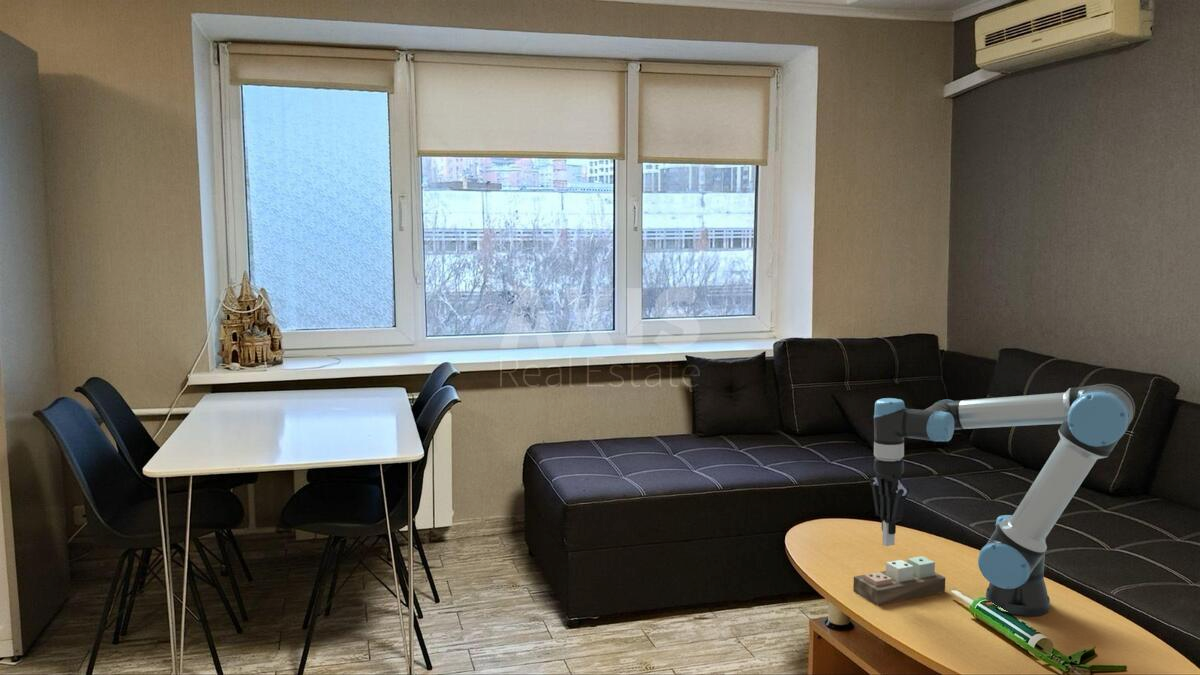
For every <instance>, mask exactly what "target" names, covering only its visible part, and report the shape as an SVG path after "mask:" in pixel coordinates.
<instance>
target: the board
mask: <svg viewBox="0 0 1200 675" xmlns="http://www.w3.org/2000/svg"><path fill="white" fill-rule="evenodd" d="M877 572H878V571H877ZM877 572H875V573H877ZM880 572H881V573H882V574H884V575H886V570H881V571H880ZM864 575H866V574H861V575H855V576H853V586H852V587H853V589H852V590H853V592H854V593H856V594H858V595H860V596H861V597H863V598H864V599H866V600H868V601H869V602H871V603H873V604H874V605H876V606H879V605H885V604H890V603H894V602H899V601H900V602H901V601H905V600H910V599H915V598H919V597H921V598H922V597H925V596H930V595H935V594H936V595H937V594H940V593H945V592H946V577H945V576H943V575H941V574H940V573H937V572H936V571H935V573H934V576H930V577H924V578H917V577H916V576H914V575H913V580H908V581H903V582H896V581H894V580H892V584H887V585H882V586H874V585H872V584H870V583H869V582H867V581H865V580H864Z"/></svg>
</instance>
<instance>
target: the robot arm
mask: <svg viewBox="0 0 1200 675" xmlns="http://www.w3.org/2000/svg"><path fill="white" fill-rule="evenodd" d="M1135 412H1136V405H1135V403H1134V399H1133V397H1132V395H1131V394H1130V393H1129V392H1128V391H1126V389H1124V388H1122V387H1121V386H1118V385H1115V384H1112V383H1111V384H1110V383H1097V384H1093V385H1092V384H1091V385H1085V386H1080V387H1079V386H1078V387H1077V386H1076V387H1070V388H1068V389H1067V390H1066V391H1064V392H1054V393H1042V394H1029V395H1015V396H1001V397H1000V396H999V397H991V398H990V397H989V398H976V399H973V398H972V399H963V400H952V399H942V400H941V399H940V400H938V401H936V402H934V403H933V404H932V405H931V406H929V407H927V408H925V409H915V408H909V407H906V405H905V401H904V400H903V399H901V398H899V399H898V398H893V397H886V398H885V397H884V398H880V399H877V400H876V401H875V403H874V412H873V414H874V415H873V427H874V428H873V433H874V434H873V435H874V438H873V456H874V459H873V471H874V472H875V473H876V474H875V477H872V478H869V483H870V487H871V490H872V498H873V502H874V503H873V504H874V510H875V515H876V516H877V517H878V516H879V518H880V520H881V531H882V546H885V547H890V546H894V545H895V544H896V543H895V542H896V541H895V538H896V536H895V535H896V532H897V526H896V525H897V522H901V521H902V520H903V516H904V511H905V505H906V500H907V496H908V494H909V493H910V489H909V487H908V488H907V487H904V486H905V485H904V486H903V479H902V475H903V474H904V472H905V459H904V456H905V438H907V439H908V438H909V439H917V440H924V441H932V442H949V441H951V440H952V438H953V435H954V432H955V431H956V430H967V429H968V430H969V429H984V428H987V429H988V428H1003V427H1005V428H1006V427H1007V428H1008V427H1022V426H1023V427H1024V426H1039V425H1041V426H1042V425H1043V426H1044V425H1060V426H1059V428H1058V431H1057V432H1058V435H1059V438H1060V440H1059V441H1058V443H1057V445H1056V447H1055V448H1054V449H1053V451H1052V452H1051V454H1050V455H1049V457H1048V459H1047V460H1046V462H1045V464H1044V465H1043V467H1042V468H1041V470H1040V471H1039V473H1038V475H1037V476H1036V478H1035V479H1034V481H1033V483H1032V484H1031V485H1030V488H1029V489H1028V491H1027V492H1026V493H1025V495H1024V497H1023V498H1022V500H1021V501H1020V503H1019V505H1018V506H1017V507H1016V509H1015V511H1014V513H1013V514H1012V515H1011V514H1004V515H999V516H998V517H997V518H996V522H995V530H994V532H993V533H992V534H991V536H990V538H989V540H988V541H987V542H986V544H985V545H984V546H983V547H982V548H980V551H979V553H978V558H977V565H978V568H979V571H980V573H981V575H982V576H983V577H984V579H985V580H987V582H989V584H988V587H987V588H986V591H985V600H986V599H987V600H989V601H990V602H992V603H994V604H995V605H997V606H999V607H1001V608H1003V609H1004V610H1006V611H1008V612H1009V613H1008V614H1010V613H1011V615H1014V616H1015V615H1016V616H1023V617H1024V616H1025V617H1036V616H1042V615H1045V614H1047V613H1049V612H1050V609H1051V599H1050V596H1049V595H1048V590H1047V586H1046V582H1045V579H1044V576H1045V575H1044V574H1045V558H1046V551H1047V549H1048V546H1047V543H1046V541H1047V539H1046V538H1047V537H1048V536H1049V533H1051V531H1052V530H1053V527H1054V526H1055V524H1056V523H1057V521H1058V520H1059V518H1060V517H1061V515H1062V514H1063V513H1064V510H1065V509H1066V508H1067V506H1068V505H1069V503H1070V502H1071V500H1072V499H1073V497H1074V496H1075V494H1076V492H1077V491H1078V489H1079V488H1080V486H1081V485H1082V483H1083V482H1084V480H1085V478H1087V476H1088V475H1089V473H1090V471H1091V469H1092V468H1093V467H1094V465H1095V464H1096V462H1097V461H1098V460H1099V459H1105V458H1109V456H1110V454H1111V453H1112V451H1113V450H1114V448H1115V446H1116V445H1117V443H1118V442H1119V440H1120V439H1121V438H1122V437H1124V435H1125V433H1126V432H1127V430H1128V428H1129V426H1130V424H1131V423H1132V422H1133V420H1134V416H1135Z"/></svg>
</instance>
